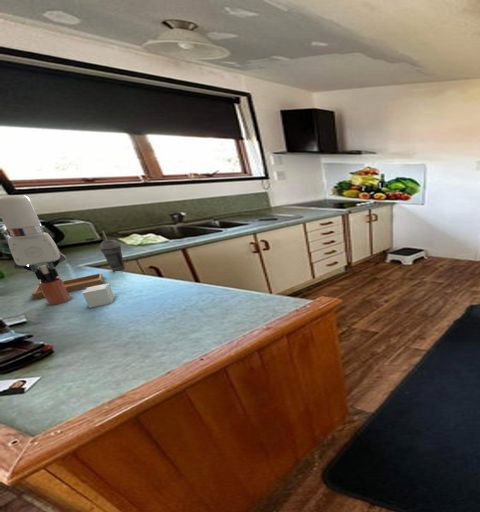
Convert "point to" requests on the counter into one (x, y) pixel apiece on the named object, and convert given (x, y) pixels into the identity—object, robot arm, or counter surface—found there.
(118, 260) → the beverage cup
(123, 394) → the counter surface
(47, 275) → the marker
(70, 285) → the pen tray
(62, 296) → the cup
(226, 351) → the counter surface
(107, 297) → the white cube
